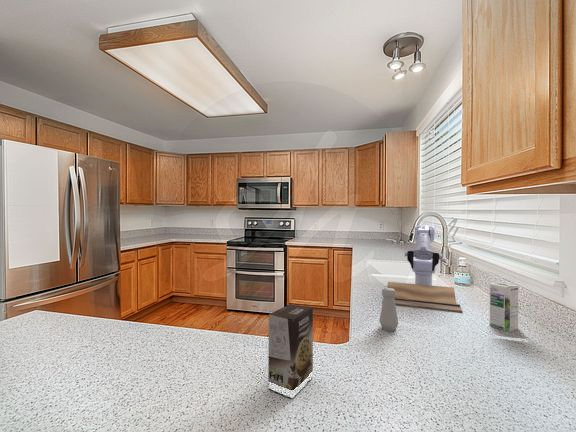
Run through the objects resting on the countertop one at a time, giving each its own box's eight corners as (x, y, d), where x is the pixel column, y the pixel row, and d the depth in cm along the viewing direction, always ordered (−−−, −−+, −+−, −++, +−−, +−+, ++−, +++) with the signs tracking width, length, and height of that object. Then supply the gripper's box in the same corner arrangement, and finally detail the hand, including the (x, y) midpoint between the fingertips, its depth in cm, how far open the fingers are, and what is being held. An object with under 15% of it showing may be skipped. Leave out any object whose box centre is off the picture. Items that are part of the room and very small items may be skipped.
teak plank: (388, 284, 131) (387, 281, 131) (453, 290, 121) (453, 287, 120) (386, 300, 123) (386, 298, 123) (456, 308, 113) (456, 305, 112)
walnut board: (383, 301, 123) (383, 296, 123) (459, 309, 112) (459, 304, 112) (382, 305, 117) (382, 300, 117) (462, 314, 106) (462, 309, 106)
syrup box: (488, 327, 94) (488, 283, 94) (499, 324, 97) (499, 281, 97) (508, 334, 89) (508, 287, 89) (519, 331, 92) (519, 285, 91)
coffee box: (293, 400, 57) (293, 319, 57) (267, 390, 61) (267, 313, 61) (314, 378, 65) (314, 307, 65) (289, 370, 69) (289, 302, 69)
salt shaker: (378, 330, 92) (378, 289, 92) (379, 324, 97) (380, 285, 97) (398, 333, 90) (398, 291, 90) (398, 326, 95) (398, 287, 95)
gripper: (405, 238, 130) (403, 258, 119) (442, 241, 124) (443, 262, 113) (405, 250, 133) (403, 271, 123) (441, 253, 127) (441, 275, 117)
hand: (422, 267), depth 118 cm, fingers open, 7 cm apart
